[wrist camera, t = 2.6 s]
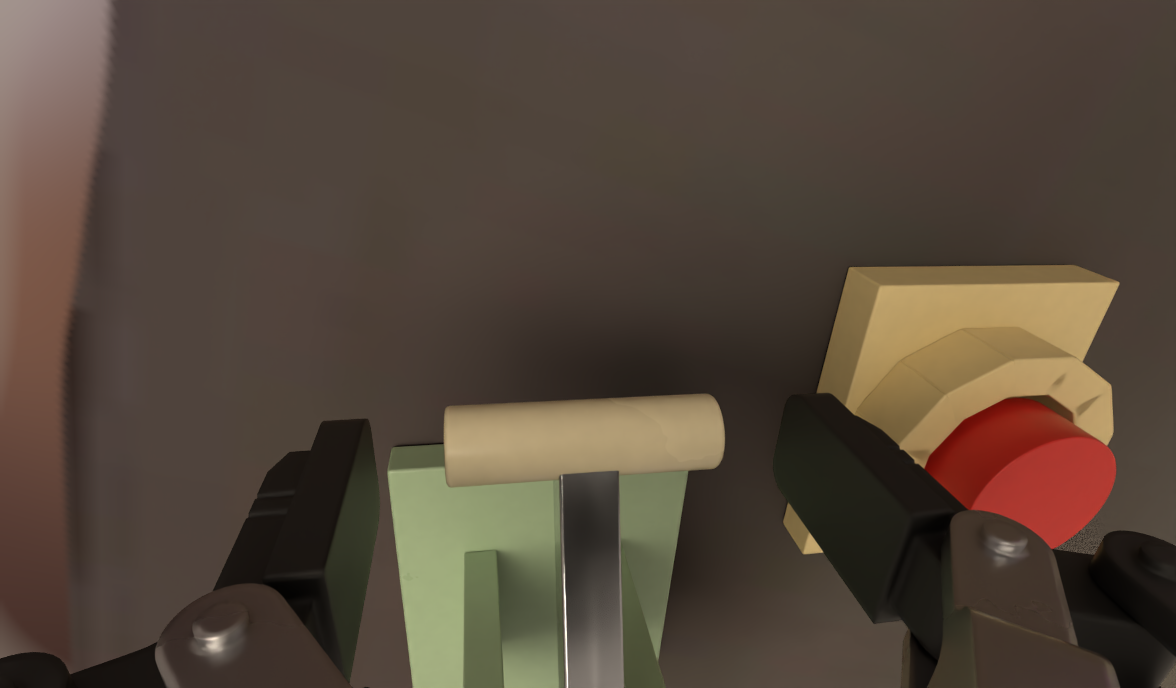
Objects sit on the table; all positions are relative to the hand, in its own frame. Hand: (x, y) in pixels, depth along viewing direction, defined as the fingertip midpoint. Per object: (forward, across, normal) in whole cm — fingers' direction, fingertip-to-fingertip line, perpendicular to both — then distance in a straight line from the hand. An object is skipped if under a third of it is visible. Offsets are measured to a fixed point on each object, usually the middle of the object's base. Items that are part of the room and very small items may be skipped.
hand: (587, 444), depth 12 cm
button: (+3, -13, +4) cm, 14 cm away
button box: (+6, -13, +4) cm, 15 cm away
